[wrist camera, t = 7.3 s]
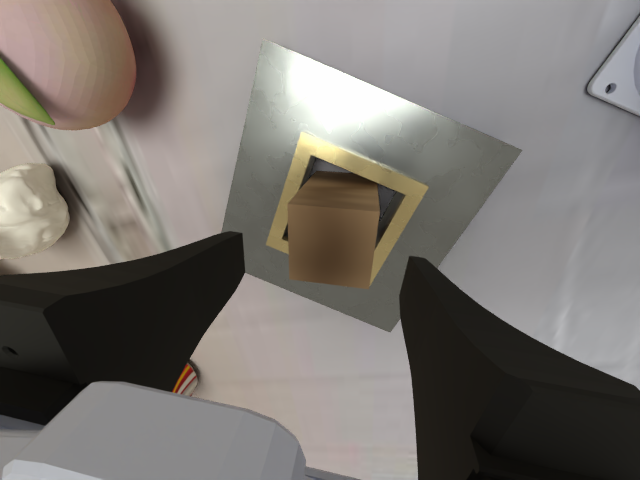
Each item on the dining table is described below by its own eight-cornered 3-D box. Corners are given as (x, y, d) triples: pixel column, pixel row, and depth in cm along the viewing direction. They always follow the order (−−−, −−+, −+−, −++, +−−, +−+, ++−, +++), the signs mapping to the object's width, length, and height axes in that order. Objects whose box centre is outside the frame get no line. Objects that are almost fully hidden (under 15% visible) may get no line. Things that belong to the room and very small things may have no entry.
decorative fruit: (200, 63, 18) (41, 20, 9) (142, 143, 22) (-16, 167, 13) (83, -76, 16) (-268, -302, 7) (38, 37, 19) (-241, -23, 10)
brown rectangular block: (376, 174, 20) (379, 211, 13) (369, 230, 22) (369, 289, 15) (316, 170, 20) (287, 203, 13) (314, 225, 22) (289, 279, 15)
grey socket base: (503, 144, 17) (528, 151, 15) (388, 312, 25) (390, 337, 22) (276, 47, 17) (259, 35, 14) (229, 246, 25) (211, 263, 22)
